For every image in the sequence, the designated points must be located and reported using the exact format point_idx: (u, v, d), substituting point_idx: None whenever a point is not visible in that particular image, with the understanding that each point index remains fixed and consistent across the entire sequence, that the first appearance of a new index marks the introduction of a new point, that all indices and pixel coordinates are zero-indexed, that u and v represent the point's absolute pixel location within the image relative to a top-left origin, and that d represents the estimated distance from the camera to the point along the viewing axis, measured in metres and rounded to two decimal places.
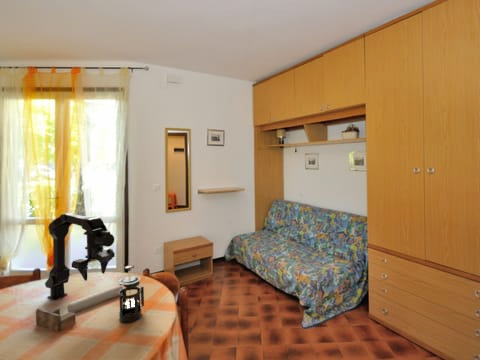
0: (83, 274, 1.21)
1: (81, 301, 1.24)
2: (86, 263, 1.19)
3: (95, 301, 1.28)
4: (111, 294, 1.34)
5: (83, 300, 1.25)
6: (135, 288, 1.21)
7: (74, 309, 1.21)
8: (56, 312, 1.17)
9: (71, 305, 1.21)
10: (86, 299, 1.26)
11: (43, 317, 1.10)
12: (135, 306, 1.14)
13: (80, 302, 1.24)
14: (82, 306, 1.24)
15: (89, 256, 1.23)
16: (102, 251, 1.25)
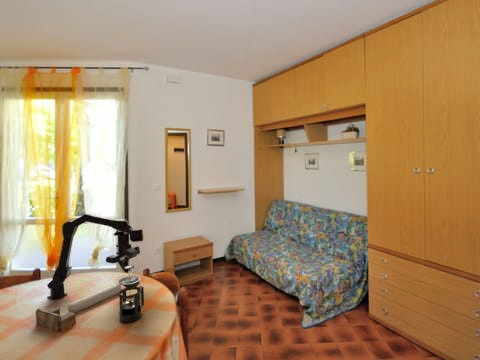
0: (122, 265, 1.45)
1: (82, 301, 1.25)
2: (118, 258, 1.39)
3: (95, 300, 1.29)
4: (110, 293, 1.36)
5: (83, 300, 1.25)
6: (135, 288, 1.21)
7: (75, 309, 1.21)
8: (56, 312, 1.17)
9: (72, 305, 1.21)
10: (86, 299, 1.26)
11: (43, 317, 1.10)
12: (135, 306, 1.14)
13: (81, 302, 1.24)
14: (83, 305, 1.24)
15: (120, 252, 1.43)
16: (131, 248, 1.45)
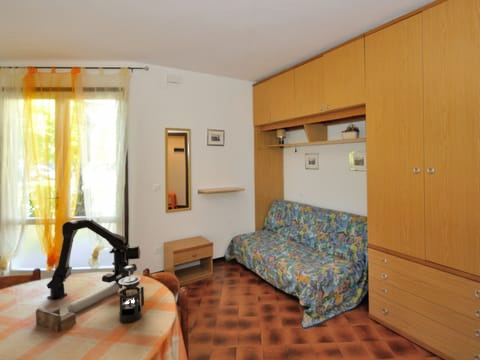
0: (118, 283, 1.43)
1: (82, 301, 1.24)
2: (114, 277, 1.37)
3: (95, 300, 1.29)
4: (108, 292, 1.36)
5: (83, 300, 1.25)
6: (135, 288, 1.21)
7: (76, 309, 1.21)
8: (56, 312, 1.17)
9: (73, 305, 1.21)
10: (86, 298, 1.26)
11: (43, 317, 1.10)
12: (135, 306, 1.14)
13: (81, 302, 1.24)
14: (83, 305, 1.24)
15: (116, 270, 1.41)
16: None
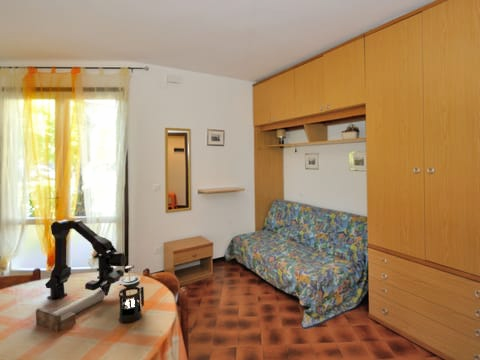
0: (104, 290, 1.35)
1: (63, 310, 1.16)
2: (98, 284, 1.29)
3: (78, 309, 1.21)
4: (93, 300, 1.28)
5: (65, 309, 1.17)
6: (135, 288, 1.21)
7: None
8: None
9: None
10: (68, 308, 1.18)
11: (43, 317, 1.10)
12: (135, 306, 1.14)
13: (63, 311, 1.15)
14: None
15: (101, 277, 1.33)
16: (113, 272, 1.34)
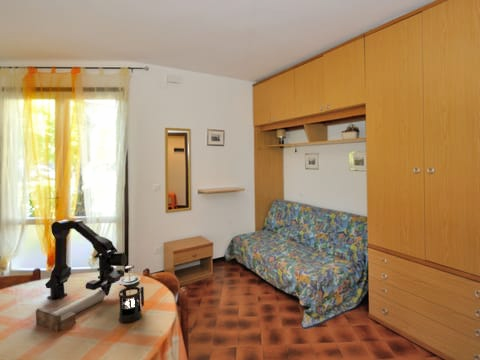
0: (104, 290, 1.35)
1: (64, 310, 1.16)
2: (99, 284, 1.29)
3: (78, 309, 1.21)
4: (93, 300, 1.28)
5: (65, 309, 1.17)
6: (135, 288, 1.21)
7: None
8: None
9: None
10: (68, 308, 1.18)
11: (43, 317, 1.10)
12: (135, 306, 1.14)
13: (63, 311, 1.15)
14: None
15: (102, 276, 1.33)
16: (113, 272, 1.34)
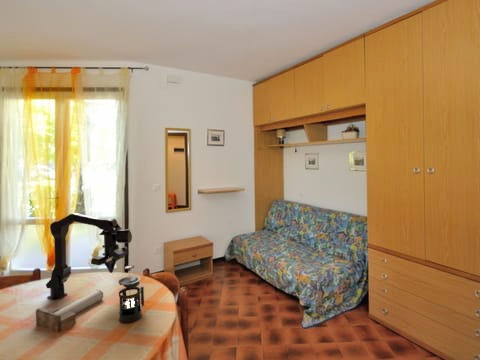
0: (109, 267, 1.37)
1: (64, 311, 1.16)
2: (104, 260, 1.31)
3: (78, 309, 1.21)
4: (92, 300, 1.28)
5: (66, 309, 1.17)
6: (135, 288, 1.21)
7: None
8: None
9: None
10: (69, 308, 1.18)
11: (43, 317, 1.10)
12: (135, 306, 1.14)
13: (63, 312, 1.15)
14: None
15: (107, 253, 1.36)
16: (118, 249, 1.37)
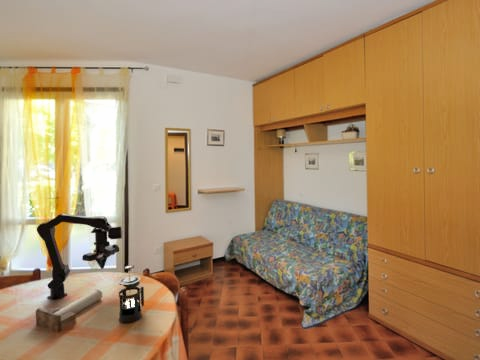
0: (100, 263, 1.43)
1: (64, 311, 1.16)
2: (95, 256, 1.37)
3: (78, 309, 1.21)
4: (91, 299, 1.29)
5: (66, 309, 1.17)
6: (135, 288, 1.21)
7: None
8: None
9: None
10: (69, 308, 1.18)
11: (43, 317, 1.10)
12: (135, 306, 1.14)
13: (64, 312, 1.15)
14: None
15: (98, 250, 1.41)
16: (109, 246, 1.42)
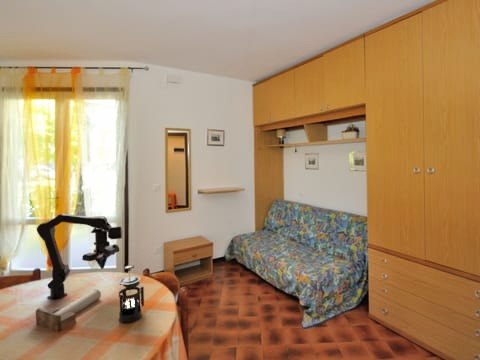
0: (100, 263, 1.43)
1: (64, 311, 1.16)
2: (95, 256, 1.37)
3: (78, 309, 1.21)
4: (91, 299, 1.29)
5: (66, 309, 1.17)
6: (135, 288, 1.21)
7: None
8: None
9: None
10: (69, 308, 1.18)
11: (43, 317, 1.10)
12: (135, 306, 1.14)
13: (64, 312, 1.15)
14: None
15: (98, 250, 1.41)
16: (109, 246, 1.42)
